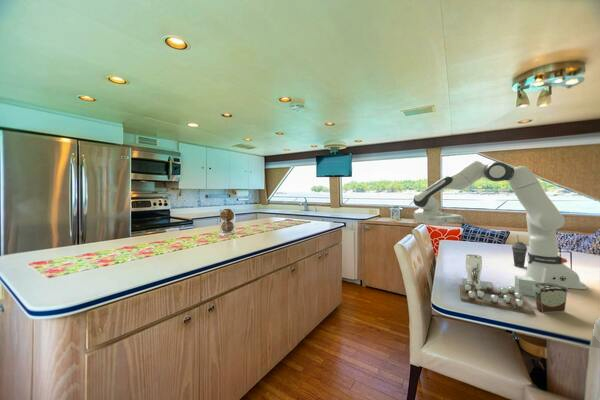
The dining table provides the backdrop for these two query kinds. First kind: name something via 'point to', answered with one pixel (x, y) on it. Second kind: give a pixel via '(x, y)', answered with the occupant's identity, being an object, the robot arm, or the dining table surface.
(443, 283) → the dining table surface
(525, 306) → the board
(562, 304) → the food container
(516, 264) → the beverage cup
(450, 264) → the dining table surface
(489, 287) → the spacers
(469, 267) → the silver metal tumbler
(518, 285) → the skincare box
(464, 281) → the grey mat
